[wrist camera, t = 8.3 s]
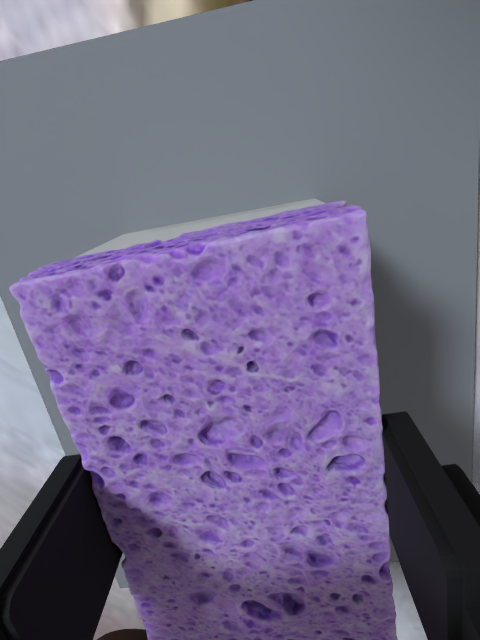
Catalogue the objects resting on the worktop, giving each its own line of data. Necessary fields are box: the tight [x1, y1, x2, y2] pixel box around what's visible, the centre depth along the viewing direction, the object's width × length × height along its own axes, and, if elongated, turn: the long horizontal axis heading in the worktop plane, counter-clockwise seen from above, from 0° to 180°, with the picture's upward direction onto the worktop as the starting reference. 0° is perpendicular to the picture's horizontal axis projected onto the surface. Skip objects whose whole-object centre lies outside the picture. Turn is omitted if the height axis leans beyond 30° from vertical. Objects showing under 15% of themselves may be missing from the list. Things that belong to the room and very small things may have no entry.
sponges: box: [9, 200, 397, 640], centre depth 10 cm, size 7×13×2 cm, turn 11°
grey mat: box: [0, 0, 480, 588], centre depth 16 cm, size 24×18×1 cm
